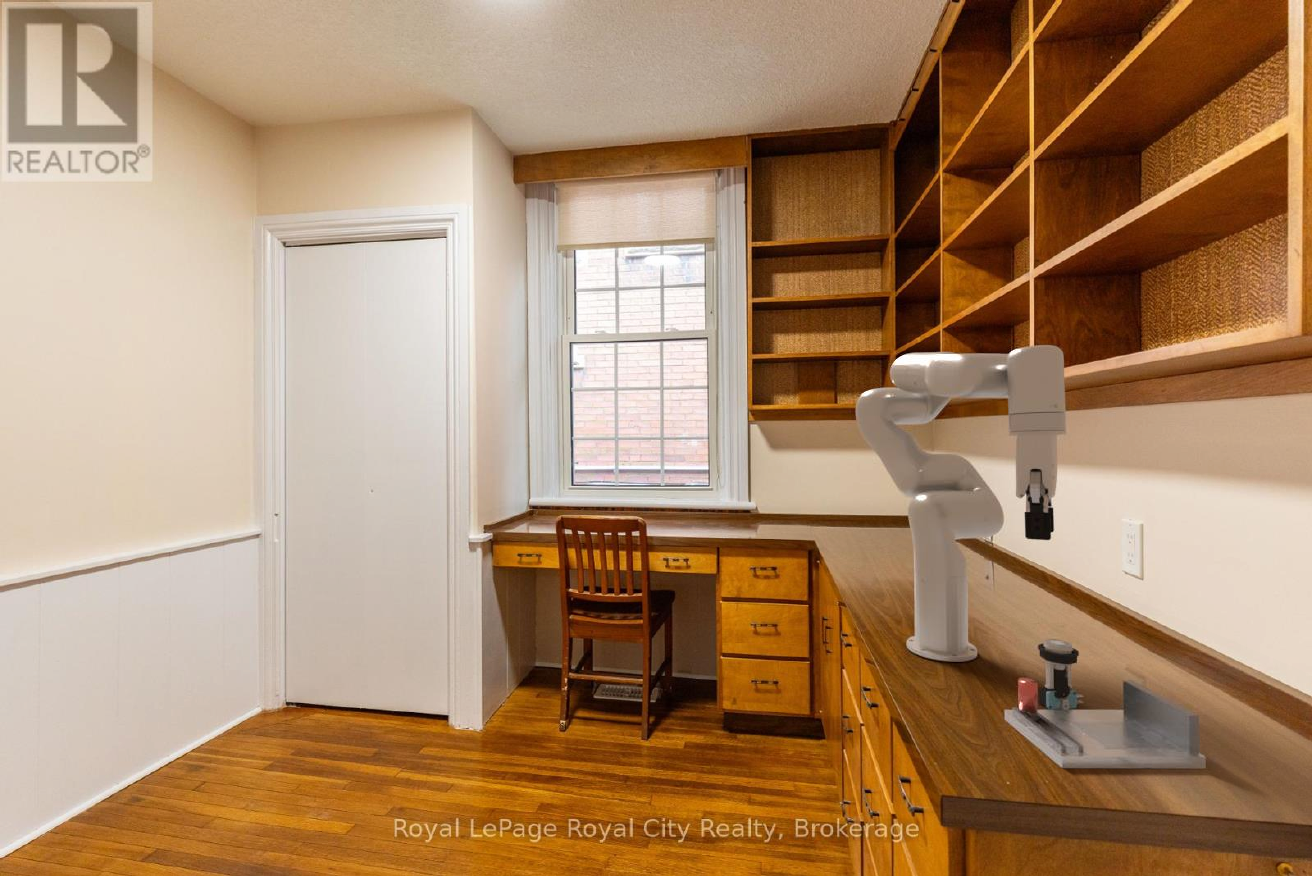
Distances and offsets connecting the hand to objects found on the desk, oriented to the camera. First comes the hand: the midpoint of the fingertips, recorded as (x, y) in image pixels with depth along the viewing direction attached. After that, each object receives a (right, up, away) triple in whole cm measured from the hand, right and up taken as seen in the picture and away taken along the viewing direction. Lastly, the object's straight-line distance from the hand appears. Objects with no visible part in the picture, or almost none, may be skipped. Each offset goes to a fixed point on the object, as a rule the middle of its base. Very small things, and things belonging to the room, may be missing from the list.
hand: (1040, 535), depth 92 cm
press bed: (+1, -27, -10) cm, 29 cm away
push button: (+4, -27, +1) cm, 27 cm away
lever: (-6, -25, -6) cm, 27 cm away
